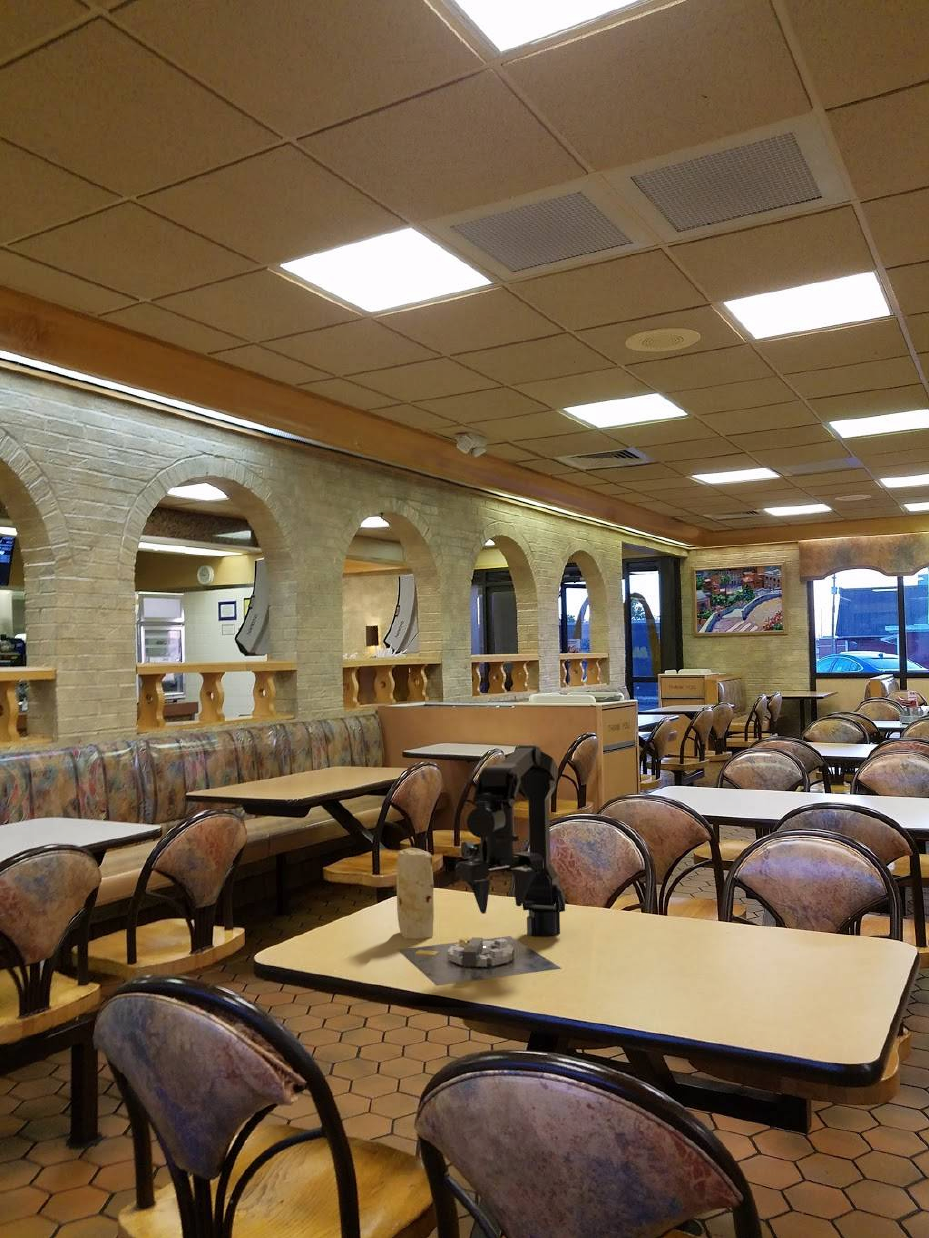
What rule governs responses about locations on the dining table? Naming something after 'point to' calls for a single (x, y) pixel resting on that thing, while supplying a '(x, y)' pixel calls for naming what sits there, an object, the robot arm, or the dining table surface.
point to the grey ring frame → (472, 949)
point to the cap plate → (449, 972)
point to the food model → (415, 893)
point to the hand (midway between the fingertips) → (501, 909)
